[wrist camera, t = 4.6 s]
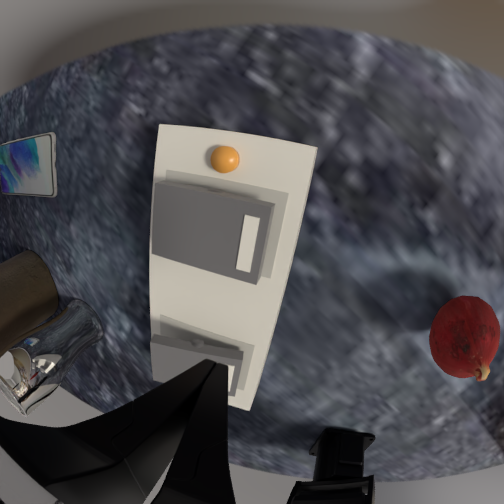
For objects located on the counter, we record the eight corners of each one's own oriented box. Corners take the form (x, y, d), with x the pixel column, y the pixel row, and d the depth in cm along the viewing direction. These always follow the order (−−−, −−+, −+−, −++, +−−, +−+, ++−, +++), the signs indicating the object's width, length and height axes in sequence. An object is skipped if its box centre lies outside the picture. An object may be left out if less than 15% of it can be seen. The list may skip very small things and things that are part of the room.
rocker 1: (262, 274, 18) (255, 285, 16) (163, 245, 19) (150, 254, 18) (277, 201, 16) (271, 207, 14) (168, 179, 17) (154, 182, 16)
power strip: (246, 421, 29) (238, 444, 26) (169, 394, 31) (156, 414, 28) (317, 147, 18) (316, 147, 14) (180, 125, 19) (154, 123, 16)
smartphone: (55, 198, 25) (1, 194, 28) (61, 196, 25) (6, 192, 28) (52, 131, 22) (-2, 144, 25) (58, 130, 22) (3, 143, 25)
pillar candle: (54, 263, 29) (-40, 320, 15) (64, 324, 33) (-9, 383, 19) (17, 240, 30) (-62, 282, 17) (27, 297, 34) (-39, 342, 20)
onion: (406, 310, 20) (431, 381, 13) (460, 263, 17) (507, 320, 10) (438, 348, 20) (461, 416, 13) (486, 308, 18) (525, 366, 11)
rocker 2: (236, 383, 23) (234, 397, 22) (158, 368, 23) (153, 380, 21) (244, 346, 21) (242, 361, 20) (155, 329, 21) (149, 342, 20)
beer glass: (62, 290, 30) (-24, 353, 16) (99, 302, 28) (4, 382, 15) (76, 334, 32) (5, 399, 19) (112, 349, 31) (38, 429, 17)
